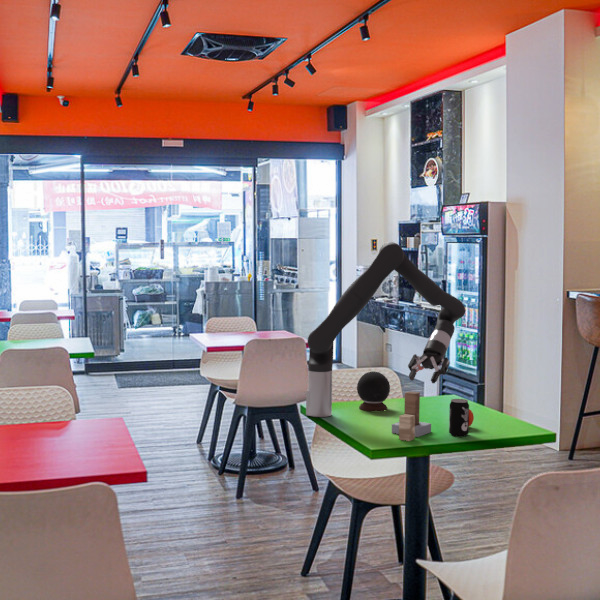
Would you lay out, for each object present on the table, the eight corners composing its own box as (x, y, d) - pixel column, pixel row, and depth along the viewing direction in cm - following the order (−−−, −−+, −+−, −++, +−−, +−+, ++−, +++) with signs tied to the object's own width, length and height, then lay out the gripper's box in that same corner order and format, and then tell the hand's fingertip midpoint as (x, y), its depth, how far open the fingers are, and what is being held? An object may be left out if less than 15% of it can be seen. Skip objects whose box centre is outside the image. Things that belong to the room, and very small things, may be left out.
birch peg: (408, 441, 263) (409, 417, 263) (398, 439, 265) (399, 415, 265) (414, 439, 266) (414, 415, 266) (404, 437, 268) (404, 414, 268)
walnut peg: (413, 434, 273) (414, 393, 272) (404, 432, 275) (404, 392, 275) (419, 432, 276) (419, 392, 275) (409, 430, 278) (410, 391, 278)
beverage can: (457, 437, 269) (457, 402, 268) (445, 433, 275) (445, 399, 274) (472, 435, 272) (473, 401, 271) (460, 431, 278) (460, 397, 277)
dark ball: (385, 405, 325) (385, 369, 324) (393, 411, 312) (394, 374, 311) (353, 405, 323) (354, 369, 322) (360, 412, 310) (361, 374, 309)
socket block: (417, 437, 269) (417, 428, 269) (391, 432, 275) (391, 424, 275) (431, 432, 277) (431, 423, 277) (405, 428, 283) (405, 419, 283)
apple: (476, 430, 281) (476, 407, 280) (453, 430, 280) (454, 407, 280) (469, 425, 289) (470, 403, 288) (447, 425, 288) (448, 403, 288)
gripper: (416, 337, 291) (400, 372, 282) (452, 340, 282) (436, 376, 274) (423, 350, 295) (407, 385, 287) (458, 353, 287) (443, 389, 278)
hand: (421, 380), depth 280 cm, fingers open, 8 cm apart
